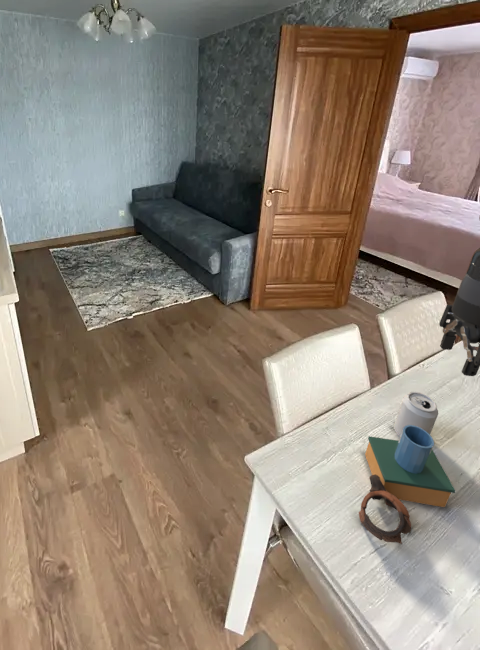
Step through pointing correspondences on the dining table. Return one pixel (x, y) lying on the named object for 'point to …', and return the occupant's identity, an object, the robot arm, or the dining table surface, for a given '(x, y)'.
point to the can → (416, 412)
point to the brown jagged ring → (380, 492)
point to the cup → (413, 449)
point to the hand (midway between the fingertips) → (455, 360)
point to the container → (408, 475)
